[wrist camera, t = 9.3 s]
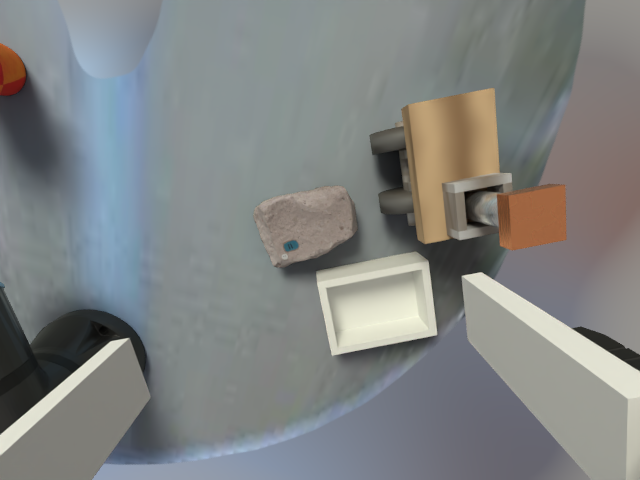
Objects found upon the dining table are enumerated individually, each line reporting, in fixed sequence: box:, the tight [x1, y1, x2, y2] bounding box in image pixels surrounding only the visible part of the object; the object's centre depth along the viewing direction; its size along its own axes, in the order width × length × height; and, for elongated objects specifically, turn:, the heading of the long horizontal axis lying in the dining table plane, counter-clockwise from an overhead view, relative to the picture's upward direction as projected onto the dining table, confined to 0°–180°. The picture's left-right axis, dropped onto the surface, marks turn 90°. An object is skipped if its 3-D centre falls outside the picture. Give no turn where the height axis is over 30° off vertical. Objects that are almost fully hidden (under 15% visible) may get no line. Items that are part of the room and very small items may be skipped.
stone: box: [253, 186, 358, 268], centre depth 43 cm, size 13×10×6 cm
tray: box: [316, 251, 437, 355], centre depth 46 cm, size 15×11×5 cm
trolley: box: [370, 88, 512, 244], centre depth 38 cm, size 12×15×13 cm
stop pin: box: [464, 184, 566, 250], centre depth 30 cm, size 4×4×11 cm
